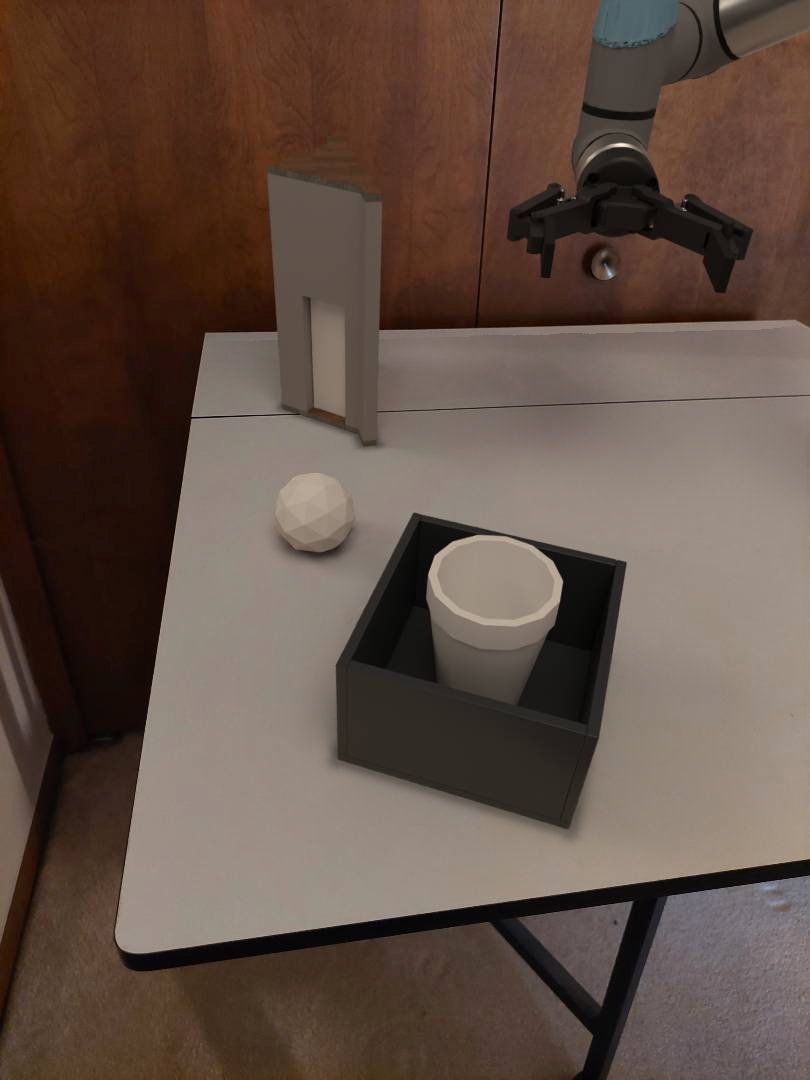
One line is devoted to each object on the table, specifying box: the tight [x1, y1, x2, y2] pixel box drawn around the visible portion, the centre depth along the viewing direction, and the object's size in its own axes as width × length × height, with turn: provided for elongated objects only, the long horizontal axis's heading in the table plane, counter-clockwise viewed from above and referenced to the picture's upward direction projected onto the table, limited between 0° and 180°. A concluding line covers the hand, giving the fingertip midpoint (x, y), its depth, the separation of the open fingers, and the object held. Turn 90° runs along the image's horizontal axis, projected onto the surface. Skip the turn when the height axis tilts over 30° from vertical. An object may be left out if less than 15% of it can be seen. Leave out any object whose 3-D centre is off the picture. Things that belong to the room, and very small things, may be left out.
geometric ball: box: [273, 472, 356, 553], centre depth 77 cm, size 8×8×8 cm
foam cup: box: [426, 535, 563, 706], centre depth 60 cm, size 10×9×13 cm
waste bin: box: [335, 512, 628, 830], centre depth 62 cm, size 18×18×11 cm
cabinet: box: [266, 135, 383, 447], centre depth 91 cm, size 21×10×28 cm, turn 14°
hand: (636, 268), depth 62 cm, fingers open, 13 cm apart
